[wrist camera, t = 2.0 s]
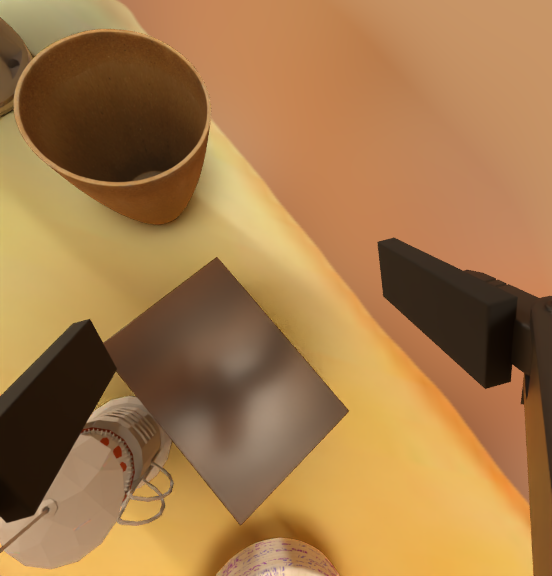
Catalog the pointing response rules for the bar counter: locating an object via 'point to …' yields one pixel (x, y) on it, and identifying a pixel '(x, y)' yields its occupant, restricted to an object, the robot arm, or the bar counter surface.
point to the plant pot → (118, 120)
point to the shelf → (225, 387)
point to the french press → (93, 487)
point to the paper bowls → (279, 560)
